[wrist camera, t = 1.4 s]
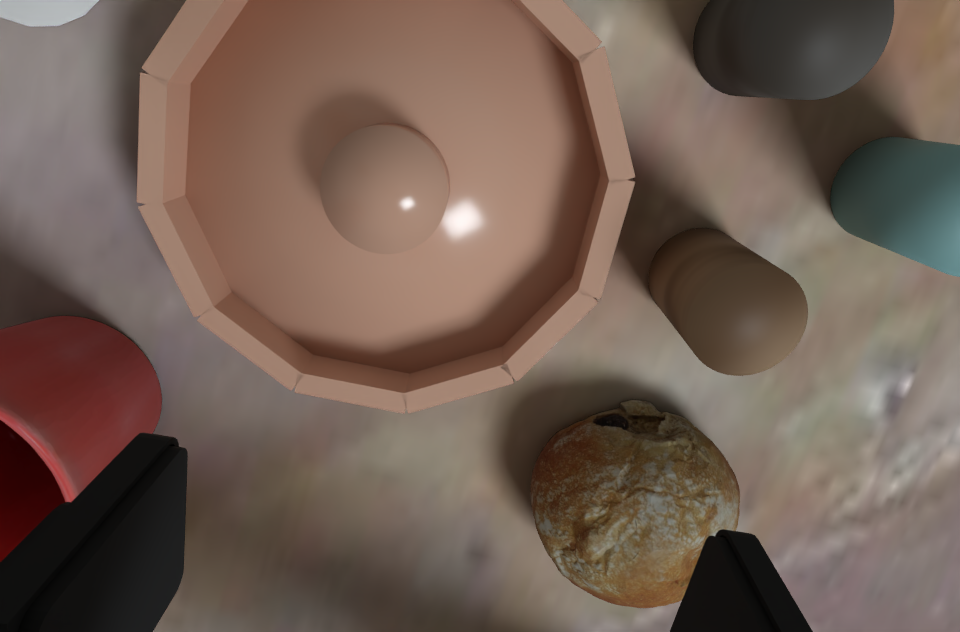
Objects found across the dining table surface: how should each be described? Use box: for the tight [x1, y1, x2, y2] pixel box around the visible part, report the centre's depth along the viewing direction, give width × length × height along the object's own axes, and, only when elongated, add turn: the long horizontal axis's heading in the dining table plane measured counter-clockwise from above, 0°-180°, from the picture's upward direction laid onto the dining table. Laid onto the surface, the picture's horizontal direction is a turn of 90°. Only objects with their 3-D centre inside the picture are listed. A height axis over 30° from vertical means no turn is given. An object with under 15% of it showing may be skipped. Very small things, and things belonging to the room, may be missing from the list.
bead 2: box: [648, 228, 808, 376], centre depth 26 cm, size 4×4×6 cm
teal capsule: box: [830, 137, 960, 277], centre depth 25 cm, size 4×4×6 cm
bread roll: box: [530, 400, 740, 608], centre depth 31 cm, size 10×10×8 cm
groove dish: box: [137, 0, 635, 414], centre depth 26 cm, size 19×19×3 cm
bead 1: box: [693, 0, 894, 100], centre depth 23 cm, size 4×4×6 cm
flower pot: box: [0, 316, 162, 562], centre depth 27 cm, size 11×11×10 cm
